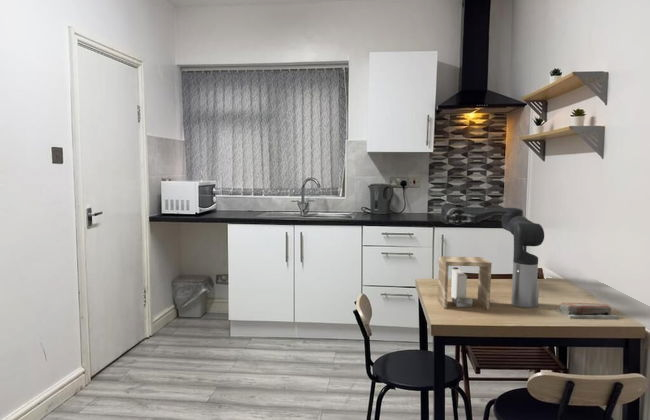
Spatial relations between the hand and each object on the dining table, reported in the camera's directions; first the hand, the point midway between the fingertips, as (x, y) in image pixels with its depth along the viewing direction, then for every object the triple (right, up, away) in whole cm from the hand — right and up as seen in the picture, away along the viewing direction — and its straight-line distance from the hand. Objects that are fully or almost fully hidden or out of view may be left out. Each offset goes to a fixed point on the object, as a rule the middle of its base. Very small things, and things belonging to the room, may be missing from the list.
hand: (464, 219), depth 215 cm
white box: (-8, -33, -17) cm, 38 cm away
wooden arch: (-8, -34, -23) cm, 42 cm away
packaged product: (+36, -36, -34) cm, 61 cm away
